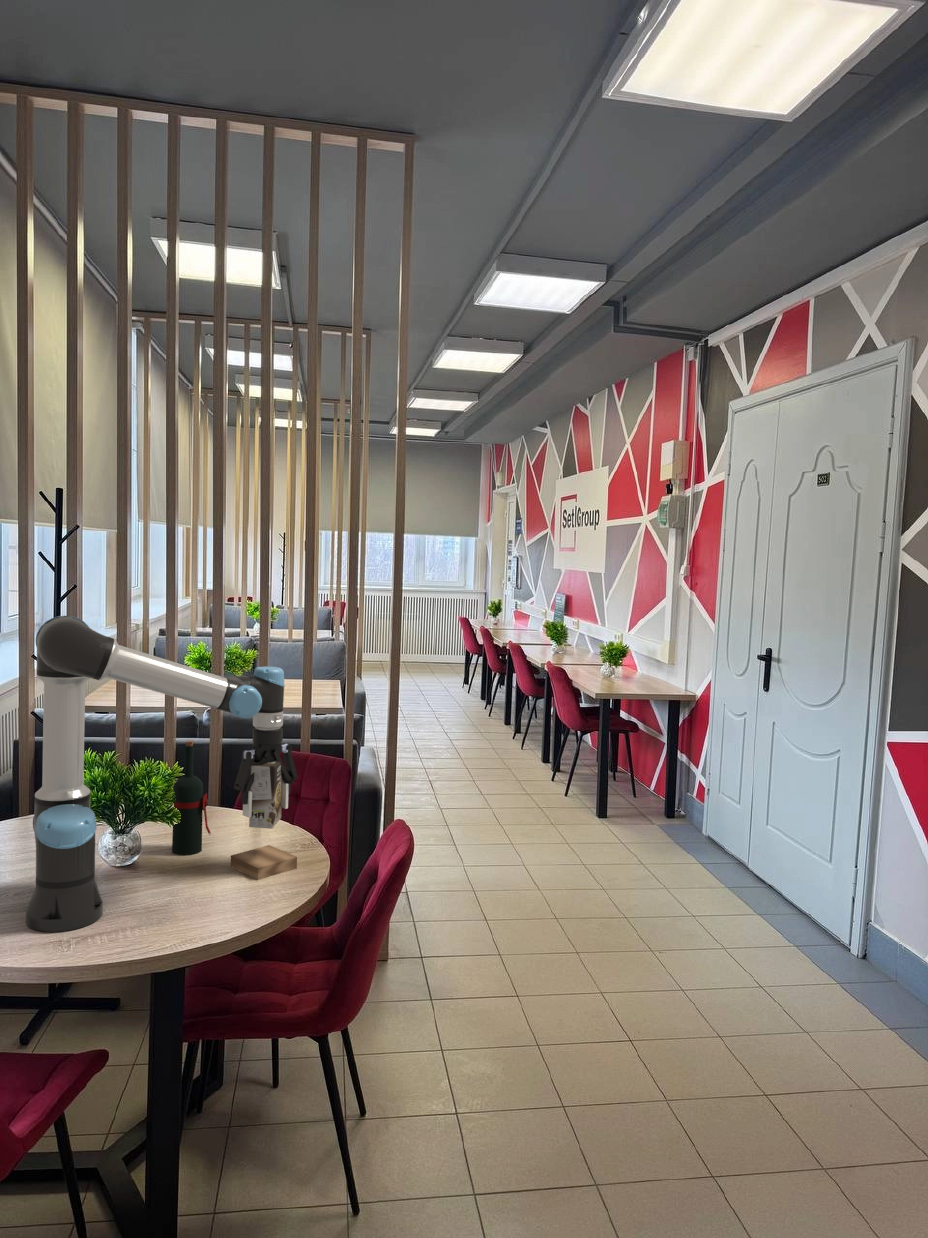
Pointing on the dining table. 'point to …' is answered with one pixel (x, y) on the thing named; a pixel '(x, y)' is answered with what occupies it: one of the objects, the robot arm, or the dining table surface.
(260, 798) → the coffee box
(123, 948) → the dining table surface
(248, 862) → the block
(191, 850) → the wine bottle
